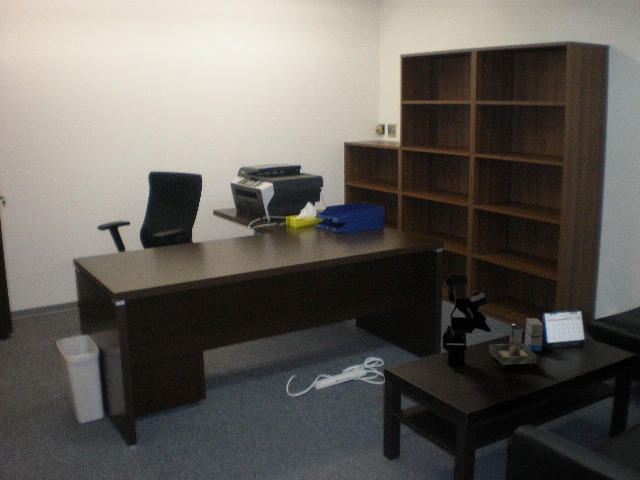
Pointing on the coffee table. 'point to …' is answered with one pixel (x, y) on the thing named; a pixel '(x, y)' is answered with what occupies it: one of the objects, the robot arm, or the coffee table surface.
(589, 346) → the coffee table surface
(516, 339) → the metal canister
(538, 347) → the ink box
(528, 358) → the shallow grey tray
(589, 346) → the coffee table surface
